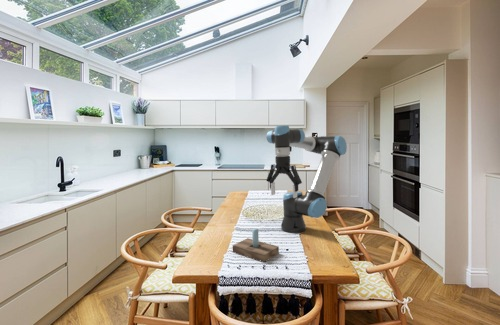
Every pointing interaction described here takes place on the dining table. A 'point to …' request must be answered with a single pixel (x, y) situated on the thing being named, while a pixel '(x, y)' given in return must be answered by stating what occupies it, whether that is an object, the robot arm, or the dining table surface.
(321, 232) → the dining table surface
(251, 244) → the hole block
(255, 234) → the peg
